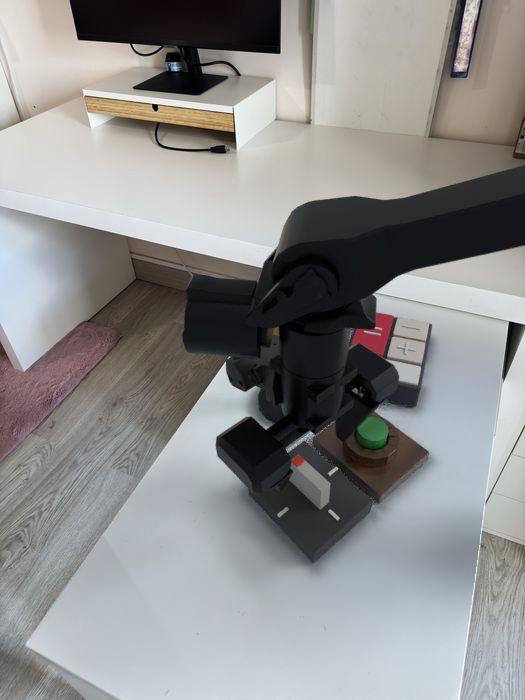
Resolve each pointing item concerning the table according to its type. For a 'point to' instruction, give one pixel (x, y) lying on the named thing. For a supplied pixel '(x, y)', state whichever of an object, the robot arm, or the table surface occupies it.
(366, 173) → the table surface
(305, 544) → the panel
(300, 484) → the dimmer knob
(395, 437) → the switch block
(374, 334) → the calculator
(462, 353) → the table surface
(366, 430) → the power button
